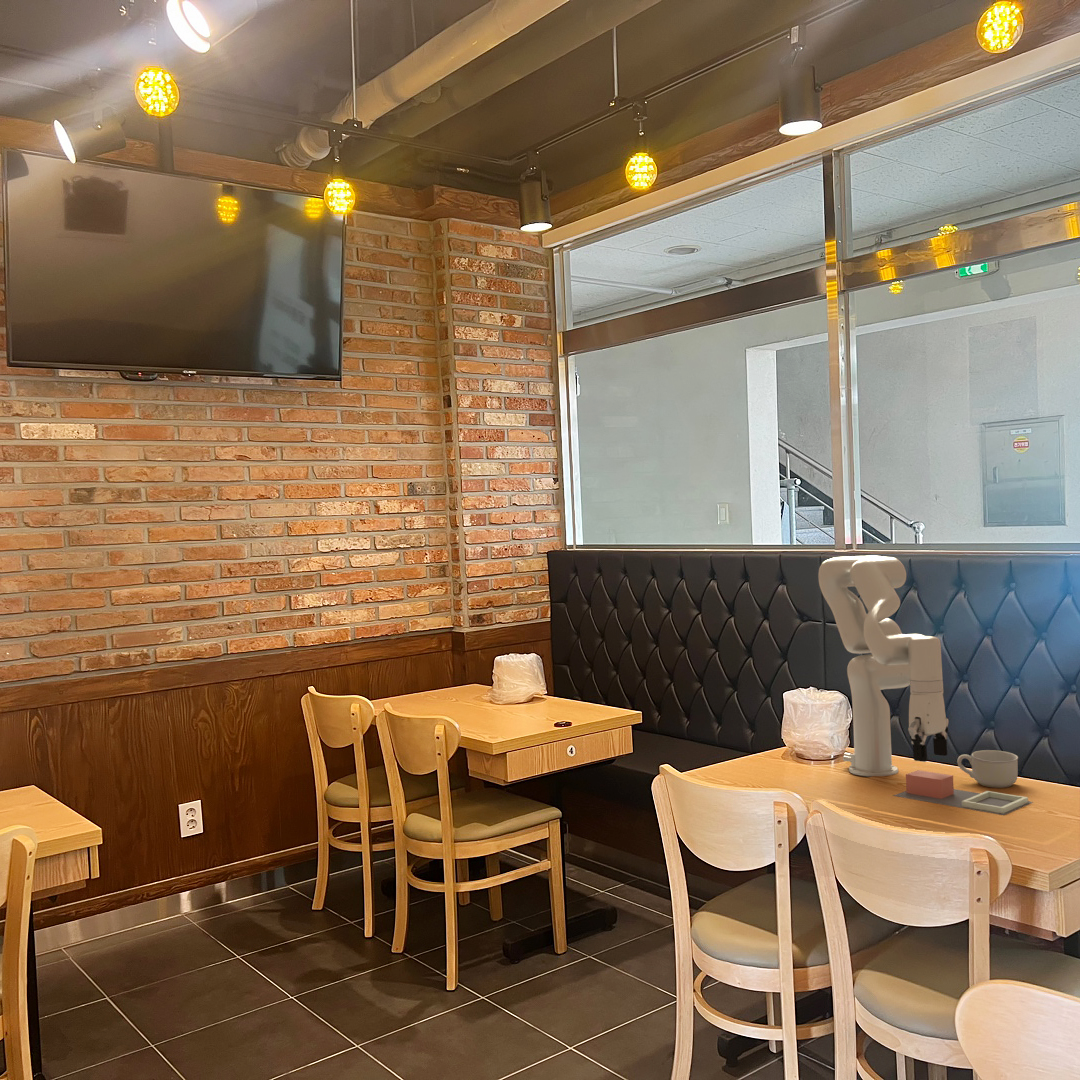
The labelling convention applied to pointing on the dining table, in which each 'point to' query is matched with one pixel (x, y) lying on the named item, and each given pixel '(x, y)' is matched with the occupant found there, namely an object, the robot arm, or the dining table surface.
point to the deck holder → (972, 804)
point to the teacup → (992, 767)
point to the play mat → (959, 797)
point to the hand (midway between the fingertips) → (930, 758)
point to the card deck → (929, 784)
